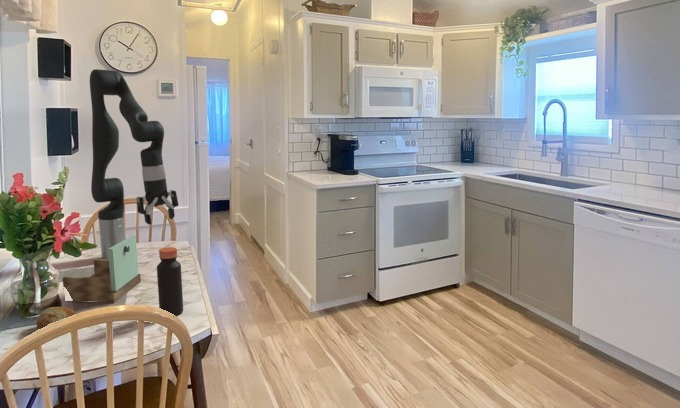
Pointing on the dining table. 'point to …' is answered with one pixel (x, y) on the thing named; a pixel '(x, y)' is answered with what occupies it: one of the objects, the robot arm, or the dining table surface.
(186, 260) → the dining table surface
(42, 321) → the bread roll
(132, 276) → the green box lid
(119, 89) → the robot arm
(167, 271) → the bottle
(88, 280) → the wood grain box
